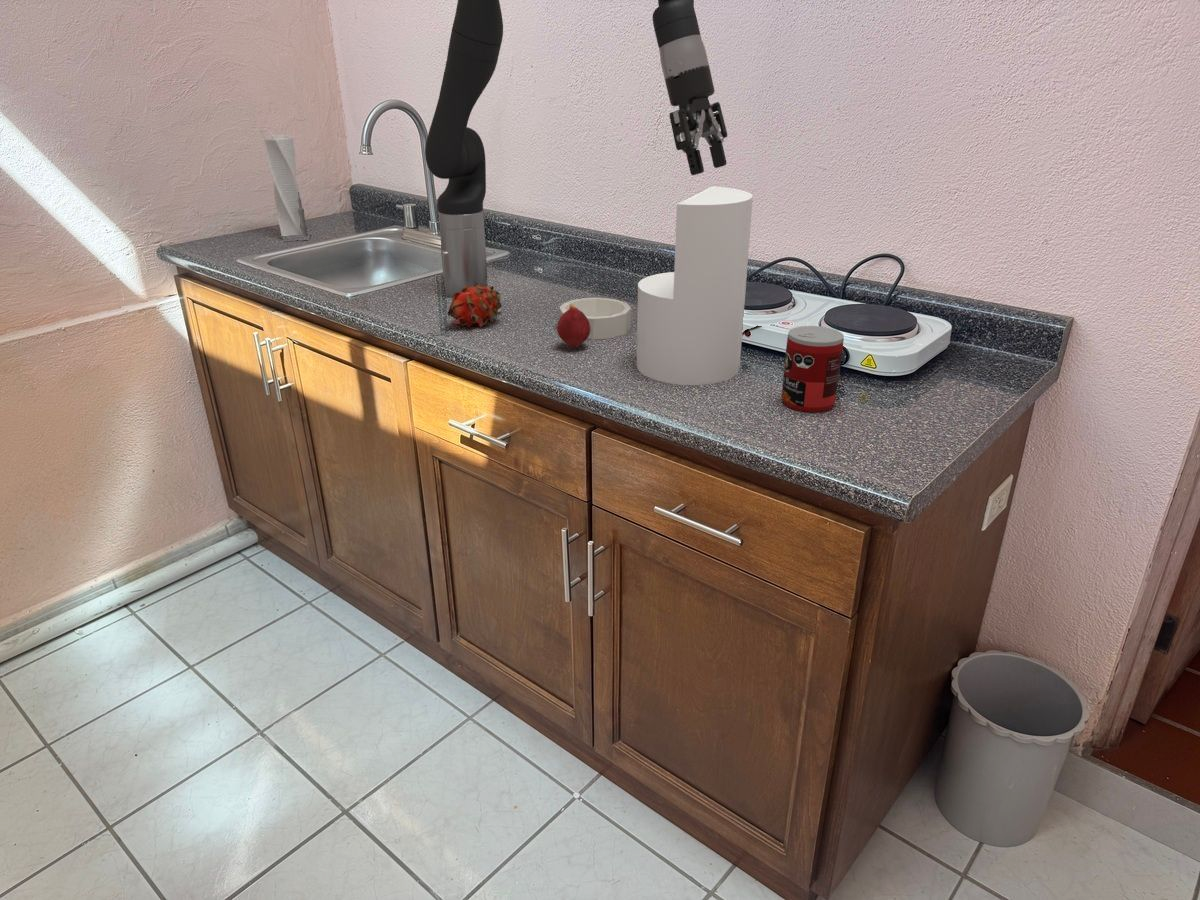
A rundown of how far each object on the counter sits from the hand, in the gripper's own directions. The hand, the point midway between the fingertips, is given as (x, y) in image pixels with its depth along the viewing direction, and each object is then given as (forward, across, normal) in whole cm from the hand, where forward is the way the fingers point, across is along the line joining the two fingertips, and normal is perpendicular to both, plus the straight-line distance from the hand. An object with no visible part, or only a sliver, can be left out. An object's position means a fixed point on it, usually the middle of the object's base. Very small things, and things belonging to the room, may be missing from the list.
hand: (709, 170), depth 143 cm
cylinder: (+30, +16, -4) cm, 34 cm away
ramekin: (+22, +8, -27) cm, 35 cm away
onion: (+23, +20, -24) cm, 38 cm away
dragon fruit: (+15, +19, -46) cm, 52 cm away
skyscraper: (-13, -12, -133) cm, 134 cm away
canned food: (+37, +20, +18) cm, 46 cm away
